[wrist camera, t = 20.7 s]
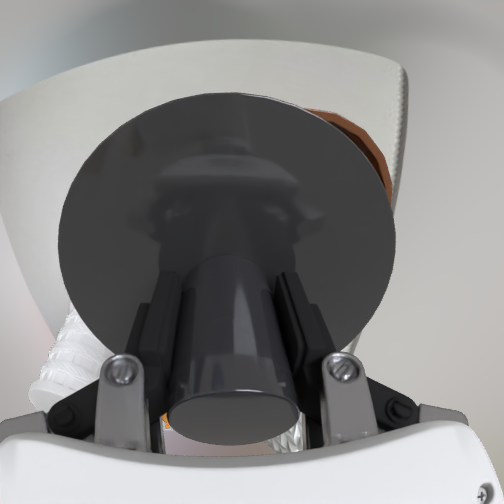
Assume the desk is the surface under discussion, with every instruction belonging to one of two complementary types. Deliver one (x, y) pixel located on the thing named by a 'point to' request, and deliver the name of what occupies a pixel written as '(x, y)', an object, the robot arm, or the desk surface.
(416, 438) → the robot arm
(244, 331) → the lid
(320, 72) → the desk surface
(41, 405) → the decorative container
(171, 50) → the desk surface
